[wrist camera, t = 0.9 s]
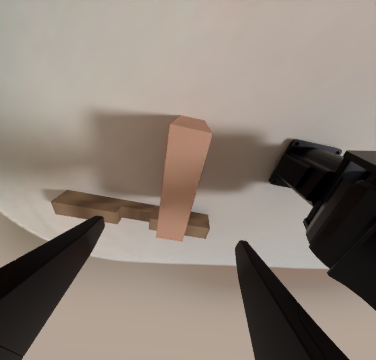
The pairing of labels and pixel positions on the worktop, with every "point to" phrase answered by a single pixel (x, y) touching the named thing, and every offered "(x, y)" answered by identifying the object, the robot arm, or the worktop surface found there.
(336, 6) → the worktop surface
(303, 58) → the worktop surface
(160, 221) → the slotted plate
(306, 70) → the worktop surface
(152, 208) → the brown rail
